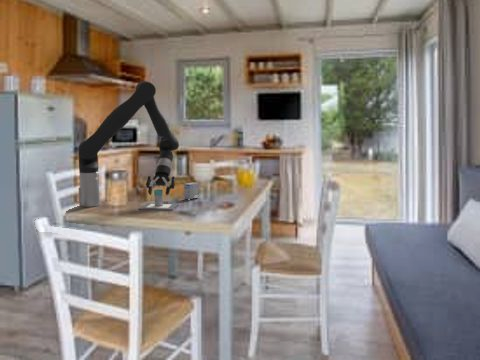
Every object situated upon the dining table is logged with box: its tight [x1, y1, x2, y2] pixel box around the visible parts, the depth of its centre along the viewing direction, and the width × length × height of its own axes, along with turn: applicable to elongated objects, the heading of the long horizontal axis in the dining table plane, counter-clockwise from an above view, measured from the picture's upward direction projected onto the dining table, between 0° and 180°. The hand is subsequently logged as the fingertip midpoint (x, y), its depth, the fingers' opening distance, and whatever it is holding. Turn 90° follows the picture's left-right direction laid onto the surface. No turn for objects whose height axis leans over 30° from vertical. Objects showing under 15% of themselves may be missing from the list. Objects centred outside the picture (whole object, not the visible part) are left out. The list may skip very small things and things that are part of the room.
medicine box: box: [183, 182, 200, 200], centre depth 254 cm, size 8×4×9 cm, turn 144°
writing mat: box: [138, 202, 179, 211], centre depth 231 cm, size 17×13×1 cm
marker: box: [153, 189, 164, 207], centre depth 231 cm, size 4×4×8 cm
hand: (158, 194), depth 229 cm, fingers open, 8 cm apart
